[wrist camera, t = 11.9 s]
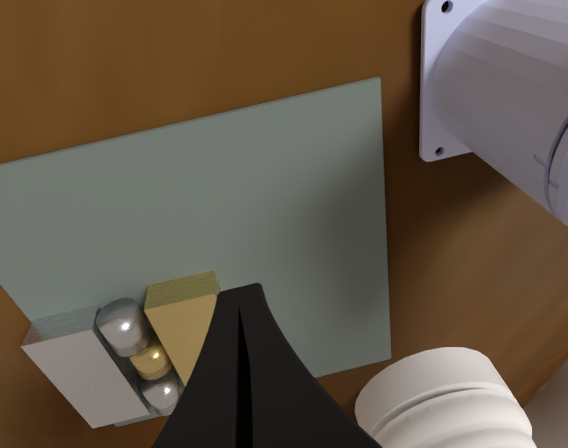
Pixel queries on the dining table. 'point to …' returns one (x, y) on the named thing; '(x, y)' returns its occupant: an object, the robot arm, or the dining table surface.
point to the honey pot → (442, 404)
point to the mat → (218, 220)
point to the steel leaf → (101, 362)
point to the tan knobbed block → (177, 324)
